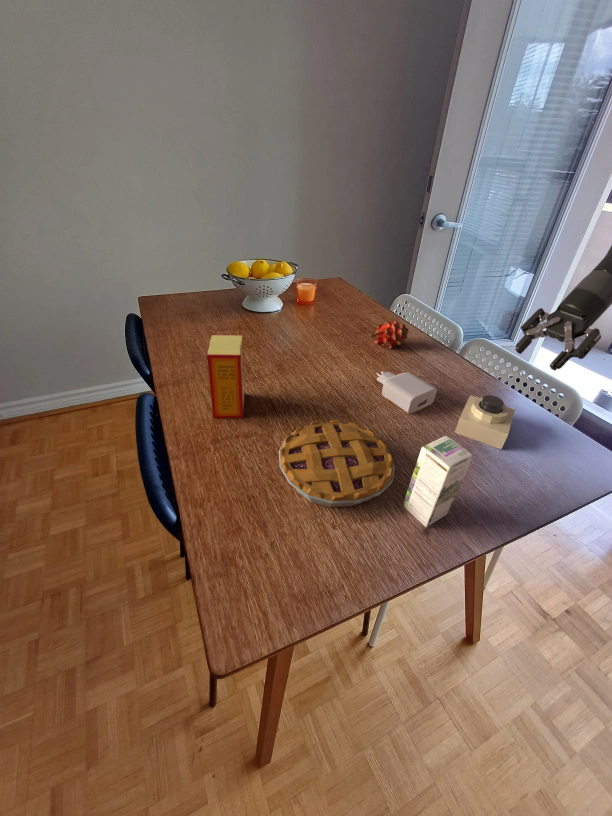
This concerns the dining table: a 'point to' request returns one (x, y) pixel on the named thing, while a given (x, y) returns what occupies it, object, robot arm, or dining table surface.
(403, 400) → the charger
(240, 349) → the baking soda box
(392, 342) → the dragon fruit
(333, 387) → the dining table surface
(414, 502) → the syrup box
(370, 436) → the pie
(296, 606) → the dining table surface
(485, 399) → the lid button
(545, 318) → the robot arm
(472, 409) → the beige faceted block
